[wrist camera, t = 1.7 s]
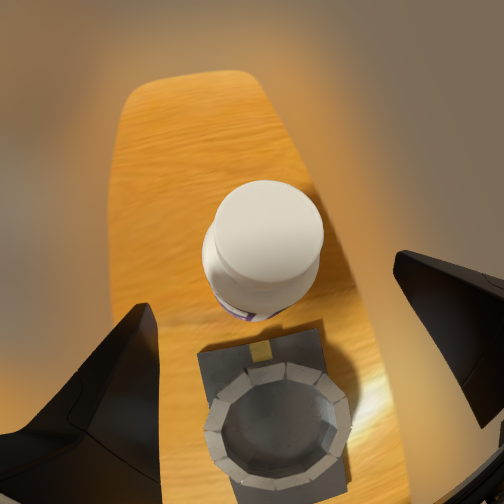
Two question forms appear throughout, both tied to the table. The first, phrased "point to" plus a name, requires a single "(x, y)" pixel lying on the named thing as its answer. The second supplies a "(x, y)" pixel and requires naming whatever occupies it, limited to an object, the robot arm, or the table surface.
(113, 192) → the table surface
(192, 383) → the table surface
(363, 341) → the table surface
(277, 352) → the plate
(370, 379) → the table surface
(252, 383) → the collar
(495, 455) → the robot arm
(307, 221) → the pill bottle
